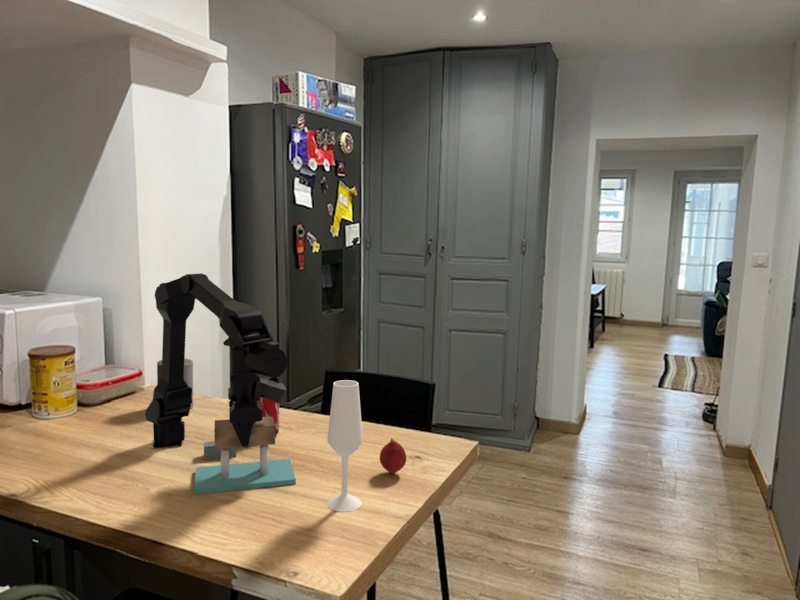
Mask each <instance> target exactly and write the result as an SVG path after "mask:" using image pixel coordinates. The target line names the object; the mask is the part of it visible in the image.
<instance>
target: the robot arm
mask: <svg viewBox="0 0 800 600" xmlns="http://www.w3.org/2000/svg"><path fill="white" fill-rule="evenodd" d="M154 298H155V305H156V307H155V308H156V310H157V311H158V313H159V315H160V316H161V317H162V319H163V320H162V321H163V323H162V324H163V325H162V327H163V328H162V351H161V352H162V355H161V360H162V377H161V380H160V381H159V383H158V384H156V385H155V388H154V389H153V394H152V400H151V402H150V403H149V405H148V407H147V408H146V409H145V411H144V415H145V420H146V421H147V422H150V423H152V424H153V425H152V427H153V428H152V429H153V432H152V433H153V444H152V448H153V449H157V448H172V447H181V446H182V445H183V442H184V441H185V439H186V431H185V430H186V429H185V427H186V425H185V421H184V420H183V418H184V417H189V415H190V411H191V409H190V406H191V403H192V388H191V387H189V386H188V385H187V383H186V382H185V380H184V361H185V358H186V331H187V329H186V328H187V319H188V318H189V317H190V315H191V313H192V312H194V309H195V303H196V300H197V301H199V303H201V304H202V305H203V306H204V307H205V308H206V309H208V310H209V311H210V312H211V313H212V314H213V315H215V316H216V317H217V318H218V321H219V323H218V324H219V327H220V329H221V330H222V331H223V332H224V333H225V335H226V336H227V338H226V339H225V340H224V341H223V342H222V343H223V346H227V347H229V349H228V350H229V354H228V355H229V387H228V388H227V392H228V393H227V394H228V395H227V398H228V400H229V401H228V406H229V411H228V413H229V419H230V423H232V425H233V428H234V430H235V432H236V434H237V436H238V438H239V440H240V443H241V445H242V447H241V448H248V447H249V446H248V444H249V440H250V435H251V431H252V427H253V424H254V423H255V422H257V421H262V407H261V405H259V404H258V401H261V397H262V398H264V399H268V400H272V401H275V403H279V405H280V404H282V403H283V400H284V397H285V394H286V392H287V388H286V385H285V384H283V383H282V382H280V379H279V377H281V376H282V375H283V374H284V372H285V371H286V368H287V366H288V358H287V355H286V353H285V352H284V350H282V349H280V343H279V342H273V341H274V339H273V338H274V337H272V332H271V331H270V328H269V327H268V326H267V323H266V321H265V319H264V316H263V314H262V312H261V310H260V309H258V308H257V307H255V306H252V305H251V304H248V303H245V302H239V301H237V300H235V299H234V298H232V297H231V296H230V295H228V294H227V292H225V291H224V290H222V289H221V288H220V287H219V286H217V285H216V284H215V283H214V282H213V281H211V280H210V279H209V276H207V274H204V273H188V274H184V275H182V276H181V277H180V278H177V279H174V280H170V281H167V282H161V283H160V284H159V285H158V286H157V287H156V288H155V292H154ZM261 375H262V376H265V377H264V378H262V377H261Z"/></svg>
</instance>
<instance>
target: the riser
mask: <svg viewBox="0 0 800 600" xmlns="http://www.w3.org/2000/svg"><path fill="white" fill-rule="evenodd" d="M235 457H237V447H235V448H229V458H235ZM214 459H221V449H215V440H213V441H212V440H211V441H204V442H203V460H214Z"/></svg>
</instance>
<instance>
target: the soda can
mask: <svg viewBox="0 0 800 600" xmlns="http://www.w3.org/2000/svg"><path fill="white" fill-rule="evenodd" d="M258 404H259V405H261V407H262V417H272V416H273V420H274V424H275V436H276V435H277V434H279V433H280V431H279V430H280V404H279V403H275V401H272V400H268V399H264V398H262V397H261V401H258Z"/></svg>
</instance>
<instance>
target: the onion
mask: <svg viewBox="0 0 800 600" xmlns="http://www.w3.org/2000/svg"><path fill="white" fill-rule="evenodd" d="M406 462H407V453H406V451H405V449H404V447H403V446H402V445H401V444H400V443H399V442H397V440H395V438H393V437H391V438H390V441H389V442H388V443H386V444H385V445H384V446H383V447H382V449H381V450H380V453H379V463H380V465H381V466H382V468H384V469H385V471H386V472H388V473H389V474H390V475H394V474H395V473H398V472H399V471H401V470H402V469H403V468H404V467H405V465H406Z"/></svg>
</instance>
